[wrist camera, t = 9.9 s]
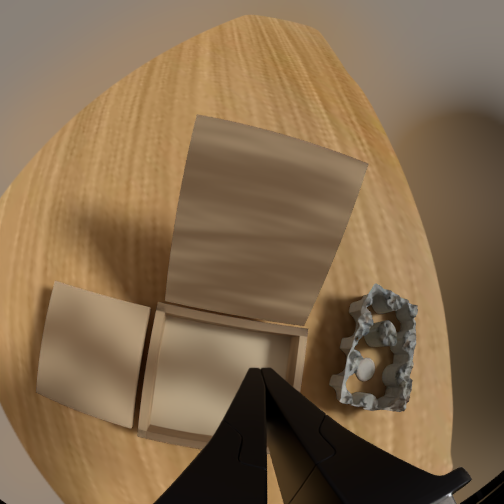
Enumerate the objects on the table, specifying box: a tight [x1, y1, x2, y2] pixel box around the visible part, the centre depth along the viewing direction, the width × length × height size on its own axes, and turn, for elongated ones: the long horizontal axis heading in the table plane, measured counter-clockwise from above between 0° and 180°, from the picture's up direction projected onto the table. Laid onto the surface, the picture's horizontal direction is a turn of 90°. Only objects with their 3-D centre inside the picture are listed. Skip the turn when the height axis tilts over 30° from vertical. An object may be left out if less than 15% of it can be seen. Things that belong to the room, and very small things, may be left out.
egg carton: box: [329, 283, 418, 412], centre depth 21 cm, size 11×8×4 cm
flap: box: [165, 115, 368, 326], centre depth 17 cm, size 1×10×12 cm
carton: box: [36, 281, 308, 454], centre depth 18 cm, size 10×20×2 cm, turn 82°
